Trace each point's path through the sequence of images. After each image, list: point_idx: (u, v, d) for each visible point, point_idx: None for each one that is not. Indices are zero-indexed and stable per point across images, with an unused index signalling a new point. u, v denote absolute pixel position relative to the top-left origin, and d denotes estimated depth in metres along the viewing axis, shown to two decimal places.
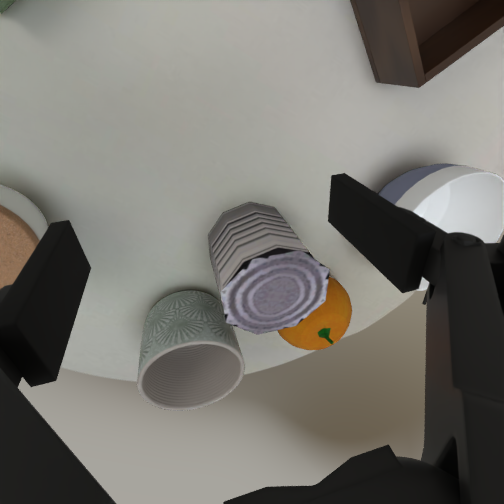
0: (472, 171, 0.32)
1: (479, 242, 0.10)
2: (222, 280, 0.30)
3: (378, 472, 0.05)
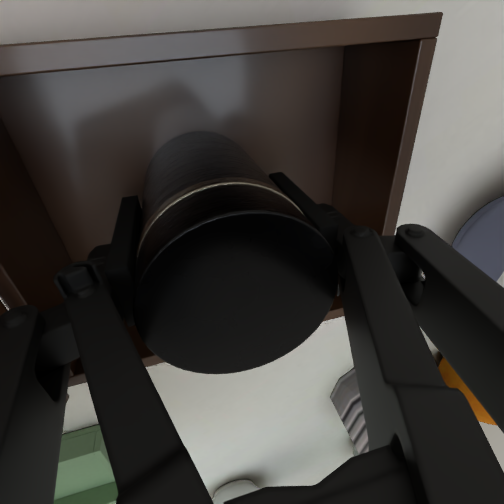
0: None
1: (372, 232, 0.11)
2: None
3: (378, 472, 0.05)
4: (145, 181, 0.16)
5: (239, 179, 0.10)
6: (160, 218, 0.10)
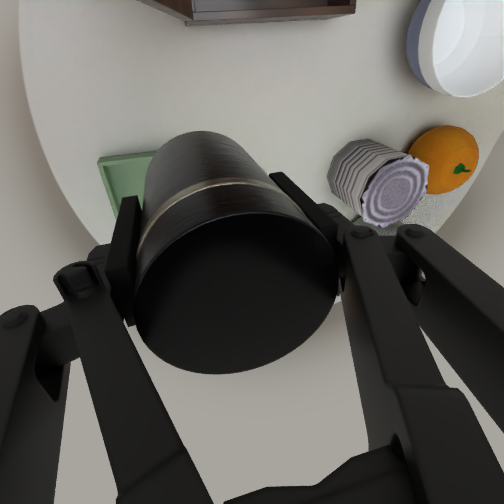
0: None
1: (372, 232, 0.11)
2: (359, 214, 0.48)
3: (378, 472, 0.05)
4: (145, 181, 0.16)
5: (240, 179, 0.10)
6: (160, 218, 0.10)
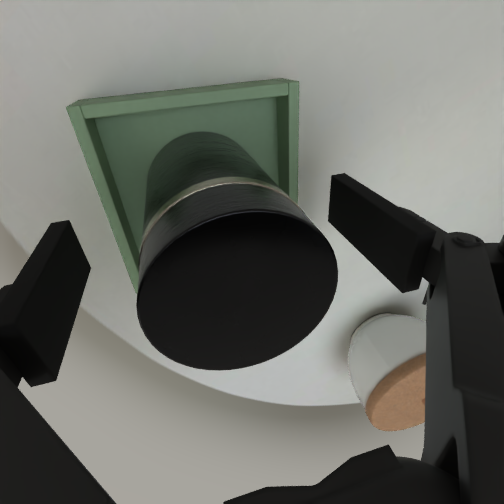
0: None
1: (479, 242, 0.10)
2: None
3: (378, 472, 0.05)
4: (147, 181, 0.16)
5: (241, 179, 0.11)
6: (163, 217, 0.10)
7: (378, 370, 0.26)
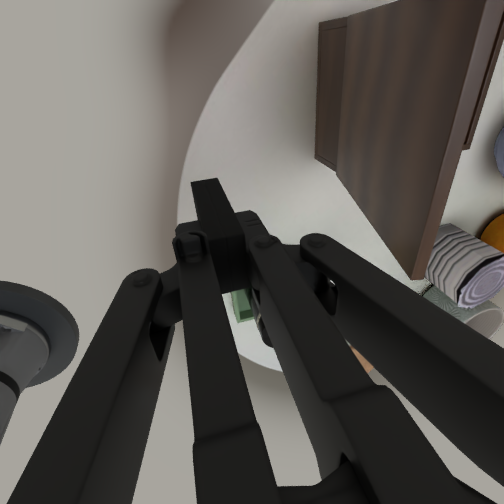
0: None
1: (275, 239, 0.11)
2: (451, 298, 0.54)
3: None
4: (248, 288, 0.50)
5: None
6: None
7: None
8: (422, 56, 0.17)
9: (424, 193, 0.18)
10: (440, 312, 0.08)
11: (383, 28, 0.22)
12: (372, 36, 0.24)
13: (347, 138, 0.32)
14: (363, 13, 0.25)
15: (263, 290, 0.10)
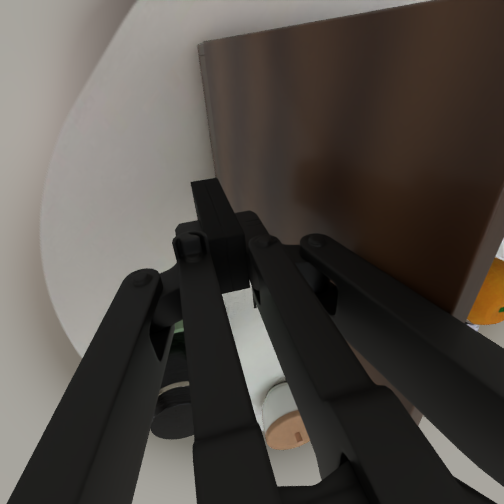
0: None
1: (275, 239, 0.11)
2: None
3: None
4: None
5: (181, 383, 0.35)
6: None
7: (270, 419, 0.51)
8: (360, 131, 0.09)
9: None
10: (440, 312, 0.08)
11: (266, 68, 0.13)
12: (248, 77, 0.15)
13: (237, 204, 0.23)
14: (227, 41, 0.17)
15: (263, 290, 0.10)
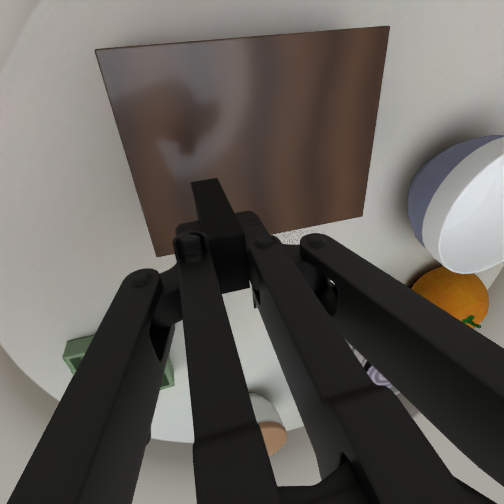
0: (460, 189, 0.30)
1: (275, 239, 0.11)
2: None
3: None
4: None
5: None
6: None
7: None
8: (332, 77, 0.23)
9: (362, 159, 0.27)
10: (440, 312, 0.08)
11: (248, 61, 0.21)
12: (219, 70, 0.21)
13: (185, 197, 0.25)
14: (175, 46, 0.20)
15: (263, 290, 0.10)
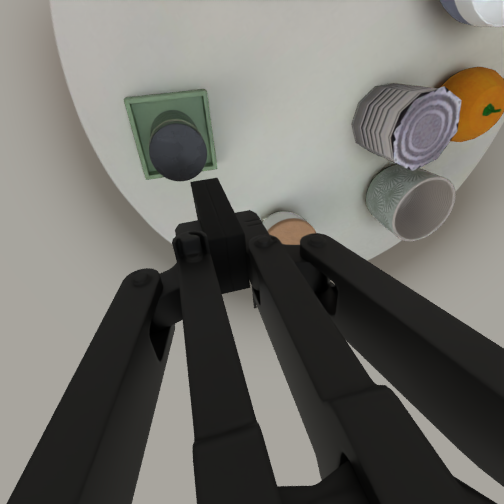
0: None
1: (275, 239, 0.11)
2: (389, 156, 0.47)
3: None
4: (151, 128, 0.44)
5: (178, 119, 0.38)
6: (156, 128, 0.37)
7: None
8: None
9: None
10: (440, 312, 0.08)
11: None
12: None
13: None
14: None
15: (263, 290, 0.10)
